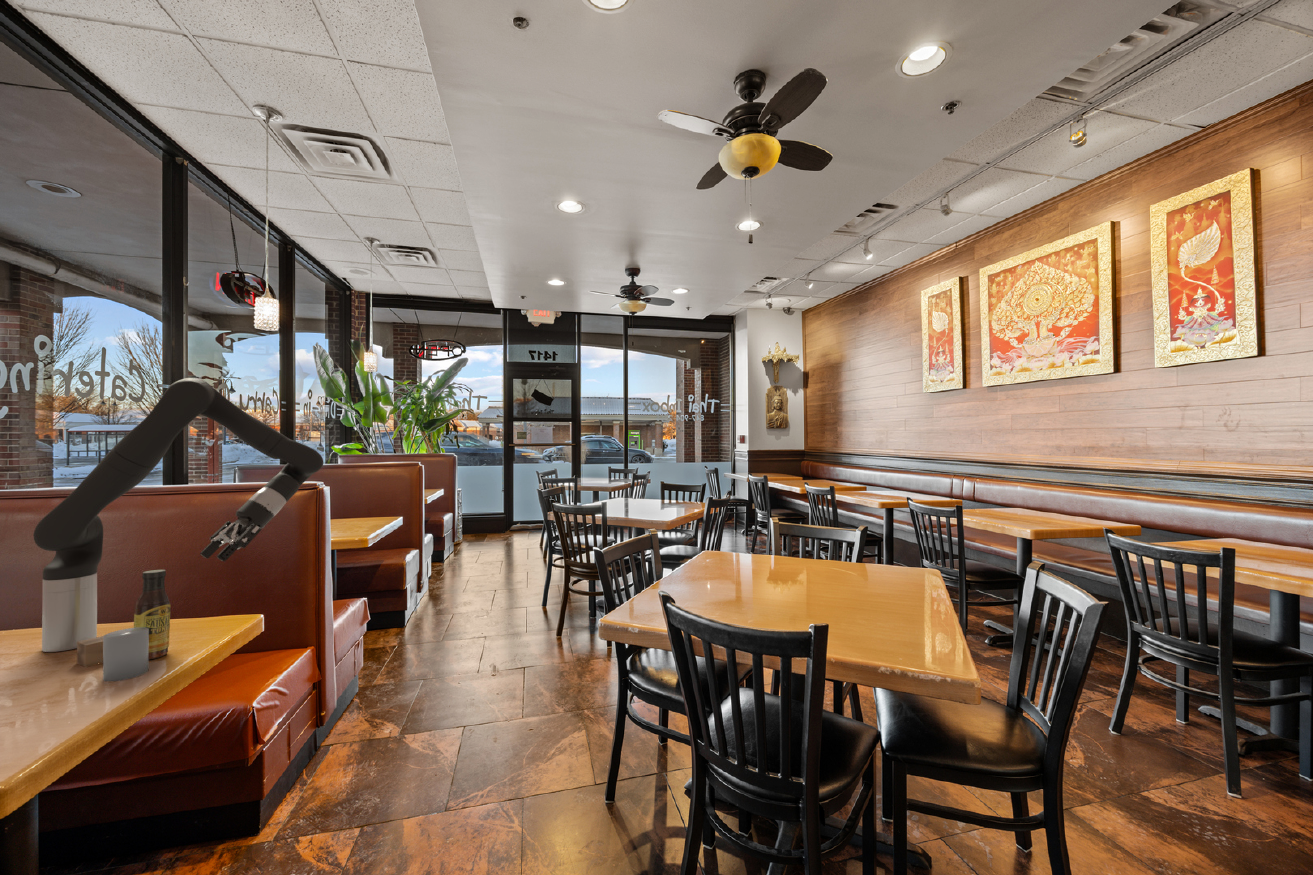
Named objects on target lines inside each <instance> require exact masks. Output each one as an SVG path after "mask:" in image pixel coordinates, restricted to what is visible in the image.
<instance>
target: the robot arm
mask: <svg viewBox="0 0 1313 875" xmlns="http://www.w3.org/2000/svg"><path fill="white" fill-rule="evenodd" d="M199 415H201V416H204V417H206V418H208V419H210V420H212V421H214V422H215V423H217V424H220V425H221V426H223V427H224V428H226V429H227V430H228V431H230V432H231V433H233V434H234V435H235V436H236V437H237V438H238V439H240V440H241V441H242V442H244V443H245V444H246V445H247V446H250V447H251V448H253V449H254V450H256V451H258V452H260V453H262V454H263V455H265V456H267V457H268V458H270V459H273V460H280V461H281V460H282V461H283V462H286V464H285V465H284V466H283V467H282V469H281V470H280V471H279V472H278V473H277V474H276V475H275V476H273V477H272V478H271V479H270V480H268V482H266V484H265V485H264V486H262V488H260V489H259V490H258V491H256V492H255V493H254V494H252V496H251V497H250V498H249V499H248V500H247V501H246V502H245V503H243V504H242V506H241V507H239V508H238V510H236V512H235V516H236V517H237V520H235V521H233V522H231V521H230V520H227V521H226V522H225V523H224V524H223V525H222V526H221V527H219V529H217V530H216V531H215V532H214V533H213V534H212V535H211V536H210V537H209V540H210V543H209V544H207V546H206V547H204V549H203V550H201V552H200V556H202V557H203V558H204V559H209V558H210V557H212V556H213V554H215V552H217V551H218V550H219V548H220V547H221V546H223V545H225V544H226V543H228V544H227V545H226V546H224V548H223V549H222V550H220V552H219V553H218V554H217V555H216V558H217V559H219V560H220V561H221V562H226V561H227V560H228V559H229V558H230V557H231V556H232V555H233V554H234V553H235V552H236V551H237V550H240V549H241V548H243V549H245V548H246V547H247V546H248V545H249V544H250V543H251V542H252V541H253V539H255V537H256V536H257V535H258V534H259V533H260V532H262V529H264V528H265V526H266V525H267V524H268V523H270V521H272V520H273V518H275V516H277V514H278V513H279V512H280V511H281V510H282V509H283V507H284V506H285V505H286V503H288V502H289V500H291V499H292V498H293V496H295V494H296V493H297V492H298V491H299V489H300V487H301V486H302V485H304V482H307V480H309V478H310V477H312V476H313V474H315V473H318V471H320V470H321V469H322V467H323V465H324V459H323V456H322V455H321V454H320V453H319V451H318V450H315V449H314V448H312V447H310V446H308V445H306V444H303V443H301V442H299V441H296V440H293V439H290V438H289V437H287V436H285V435H284V434H283V433H281V432H279V431H277V430H276V429H274V428H273V427H271V426H269V425H268V424H266V423H264V422H263V421H261V420H260V419H257V418H256V417H254V416H253V415H250V414H249V413H247V412H246V411H244V410H243V409H241V408H240V407H238V406H237V405H235V404H234V403H233V402H231V401H230V400H229V399H227V398H226V397H225V396H224V395H223V394H221V392H219V391H218V390H216V389H215V387H213V386H212V385H211V384H210V383H209V382H207V381H205V380H204V379H201V378H197V377H185V378H182V379H179V380H177V381H175V382H173V383H172V384H170V385H169V386H168V387H167V389H166V390H165V392H164V393H163V394H162V396H161V397H160V399H159V400H158V401H157V403H156V404H155V406H154V407H153V408H152V409H151V411H150V412H149V414H148V415H147V416H146V417H145V418H144V419H143V420H142V421H141V422H139V424H138V425H137V424H136V426H135V427H134V428H132V429H131V430H130V431H129V432H128V433H127V434H125V436H123V438H122V439H120V441H119V442H117V443H116V444H115V445H114V446H113V447H112V449H110V450H109V452H108V453H106V455H105V456H104V457H103V458H102V459H101V460H100V462H99V463H98V464H97V465H96V466H95V467H94V468H93V469H92V470H91V471H90V472H89V474H87V475H86V476H85V478H84V479H83V480H82V482H80V484H79V485H78V486H77V487H76V488H75V489H74V490H73V491H72V492H71V493H70V494H69V495H68V496H66V498H64V499H63V500H62V501H61V502H60V503H59V504H58V505H56V506H55V507H54V508H53V509H52V510H51V511H50V512H48V513H47V514H46V515H45V516H44V517H42V519H41V520H39V521H38V523H37V524H36V526H35V527H34V530H33V541H34V544H36V546H37V547H38V548H40V549H41V550H44V551H47V552H48V551H49V552H55V555H54V557H53V558H52V560H51V561H50V562H49V563H48V564H47V565H46V566H45V567H44V568H43V569H42V611H41V612H42V616H41V618H42V620H41V624H42V626H41V627H42V628H41V640H42V641H41V651H42V652H44V653H45V652H46V653H54V652H56V653H57V652H65V651H69V650H70V651H71V650H74V649H77V642H78V641H83V640H87V639H91V638H96V637H98V630H97V629H98V568H99V567H98V566H99V564H100V562H101V560H102V556H103V548H104V547H103V546H104V526H103V521H102V520H101V518H100V516H98V515H99V514H100V513H101V512H102V511H103V510H104V509H105V508H106V507H107V506H109V504H111V503H113V502H115V501H116V500H117V499H119V498H120V497H122V496H124V495H125V494H126V493H128V492H129V491H131V490H132V489H133V488H135V487H136V486H138V485H139V484H140V483H141V482H142V481H143V480H144V479H146V478H147V477H148V475H149V474H150V473H151V472H152V471H153V470H154V469H155V467H157V465H158V464H159V463H160V461H161V460H162V459H163V457H164V456H165V455H166V453H167V452H168V451H169V448H170V447H171V445H172V444H173V442H174V441H175V438H177V436H178V435H179V434H180V433H181V431H182V430H183V429H185V427H187V426H188V425H189V424H190V423H191V422H192V421H193V420H194V419H196V418H197V417H198V416H199Z"/></svg>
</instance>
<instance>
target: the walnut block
mask: <svg viewBox="0 0 1313 875" xmlns="http://www.w3.org/2000/svg"><path fill="white" fill-rule="evenodd" d="M103 636H104V635H100V636H97V637H96V638H91V639H87V640H83V641H78V642H77V648H76V664H77V663H78V665H79V666H82V667H83V666H84V667H83V668H89V667H92V666H91V665H93V666H96V665H95V664H97V665H99V664H98V663H101V664H103Z"/></svg>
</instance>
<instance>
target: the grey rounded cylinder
mask: <svg viewBox="0 0 1313 875" xmlns="http://www.w3.org/2000/svg"><path fill="white" fill-rule="evenodd" d="M102 636H103V663H102V681H103V682H107V681H113V682H119V681H125V680H131V679H133V678H137V677H139V676H142V675H144V674H146V673H148V672H149V670H150V669H149V628H147V627H136V628H134V627H129V628H123V629H119V630H115V631H111V632H108V633H106V634H104V635H102Z"/></svg>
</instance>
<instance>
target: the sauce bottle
mask: <svg viewBox="0 0 1313 875" xmlns="http://www.w3.org/2000/svg"><path fill="white" fill-rule="evenodd" d="M166 576H167V573H166V569H154V570H153V569H152V570H147V571H143V572H142V576H141V578H142V580H143V581H142V593H141V594H140V595H139V596H138V597H137V600H136V602H135V604H134V606H135V608H134V613H133V628H136V627H147V628H149V660H154V659H158V658H160V657H161V658H162V657H163V656H165V655H167V653H168V652H169V646H170V626H171V622H170V621H171V605H172V604H171V602H170V599H169V597H168V594H167V592H166V589H165V587H166V586H165V578H166Z"/></svg>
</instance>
